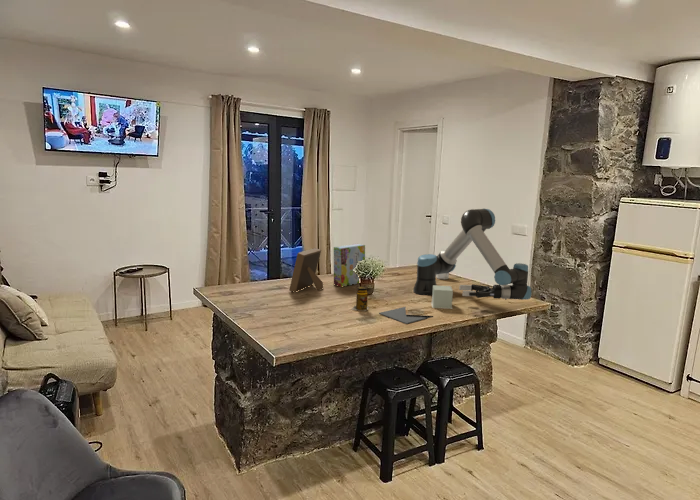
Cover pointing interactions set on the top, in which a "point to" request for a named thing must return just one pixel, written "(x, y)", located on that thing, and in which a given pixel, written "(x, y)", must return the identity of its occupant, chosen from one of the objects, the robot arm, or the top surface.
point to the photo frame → (306, 270)
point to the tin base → (444, 308)
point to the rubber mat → (403, 316)
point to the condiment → (361, 299)
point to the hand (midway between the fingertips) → (461, 290)
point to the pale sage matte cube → (442, 296)
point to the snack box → (347, 263)
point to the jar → (443, 276)
